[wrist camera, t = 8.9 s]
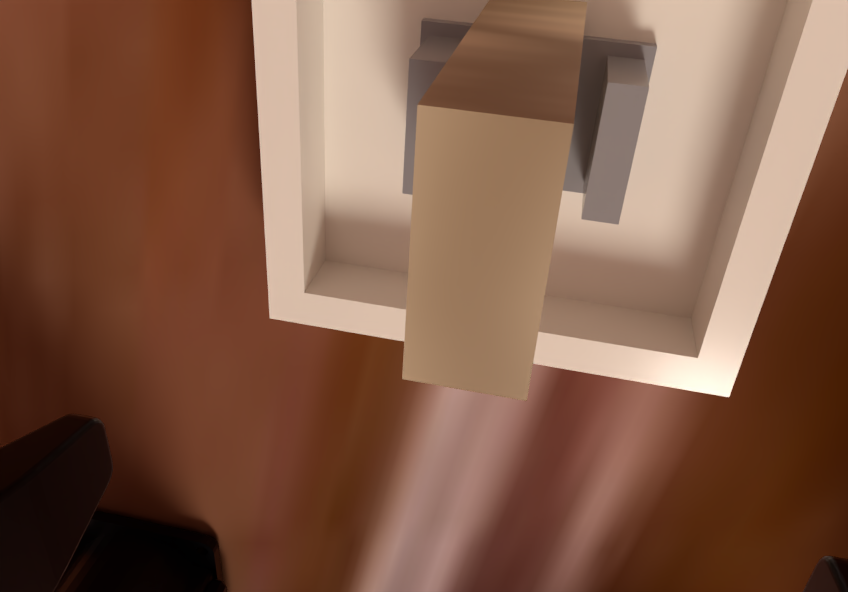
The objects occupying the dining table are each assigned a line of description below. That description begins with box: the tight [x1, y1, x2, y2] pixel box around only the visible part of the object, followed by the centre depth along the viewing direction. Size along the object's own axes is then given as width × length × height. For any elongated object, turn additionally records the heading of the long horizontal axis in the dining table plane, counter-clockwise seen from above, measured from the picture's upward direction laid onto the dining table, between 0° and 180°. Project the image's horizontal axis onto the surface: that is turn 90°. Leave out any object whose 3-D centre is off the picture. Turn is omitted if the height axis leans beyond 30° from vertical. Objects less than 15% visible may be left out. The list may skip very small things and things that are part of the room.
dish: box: [252, 0, 848, 397], centre depth 17 cm, size 12×12×3 cm
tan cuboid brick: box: [402, 0, 587, 401], centre depth 14 cm, size 2×4×8 cm, turn 177°
